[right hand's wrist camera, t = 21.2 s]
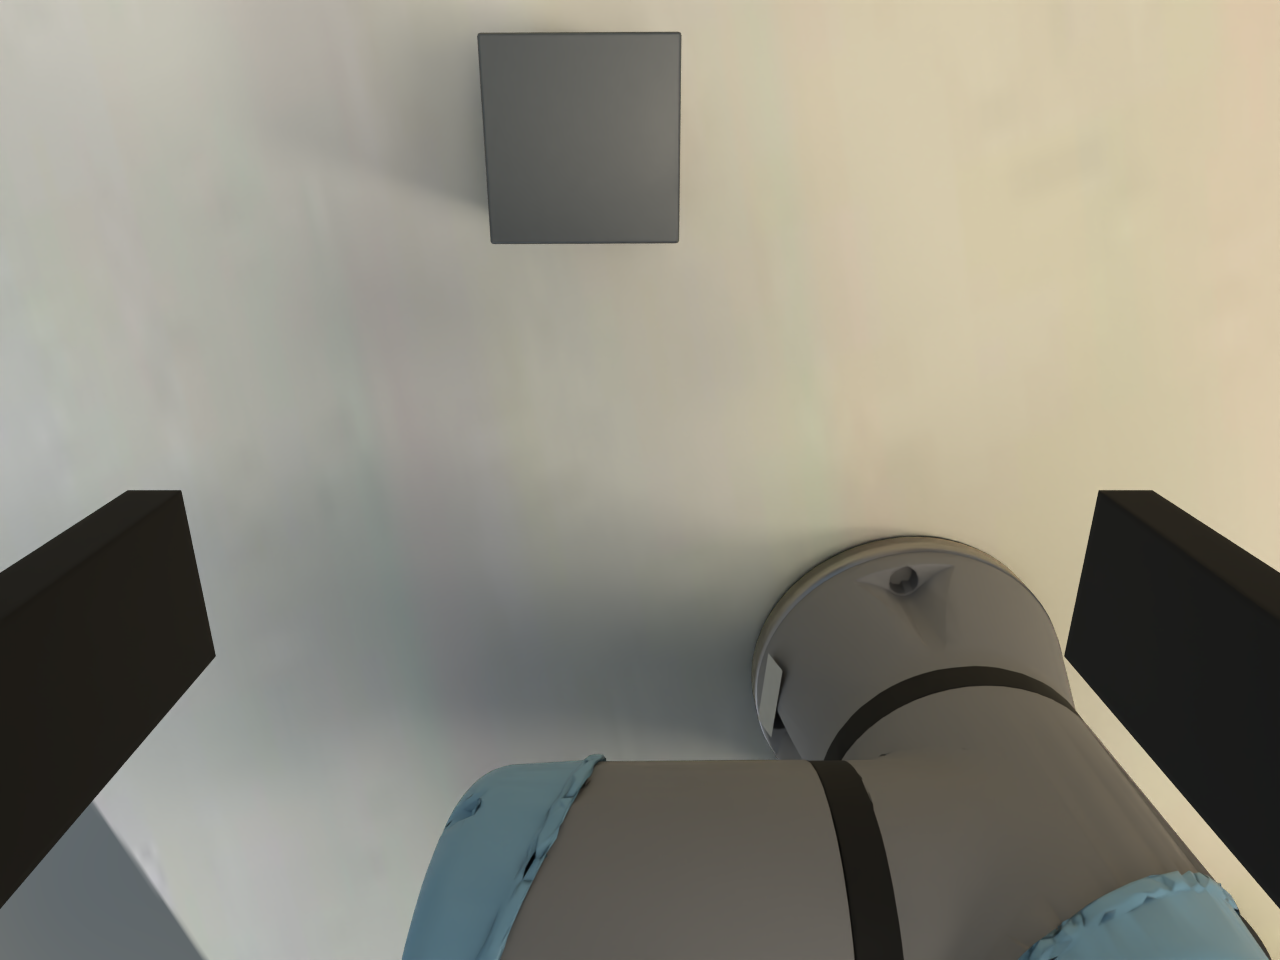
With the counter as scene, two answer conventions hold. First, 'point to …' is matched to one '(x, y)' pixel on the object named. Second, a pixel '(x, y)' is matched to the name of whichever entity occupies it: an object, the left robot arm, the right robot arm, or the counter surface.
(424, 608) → the counter surface
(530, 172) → the cap block
